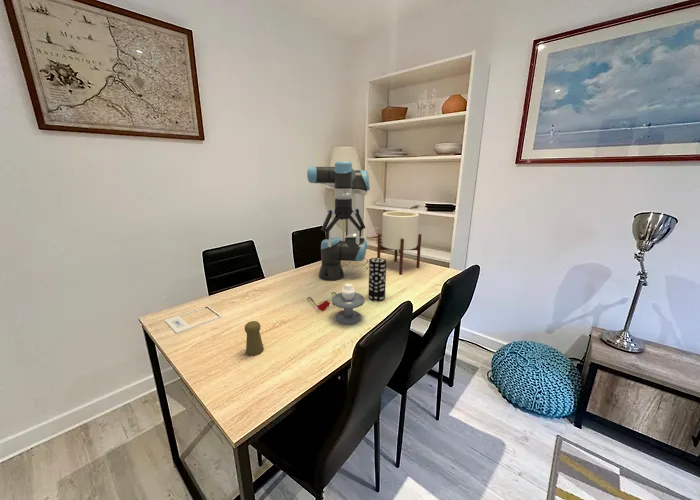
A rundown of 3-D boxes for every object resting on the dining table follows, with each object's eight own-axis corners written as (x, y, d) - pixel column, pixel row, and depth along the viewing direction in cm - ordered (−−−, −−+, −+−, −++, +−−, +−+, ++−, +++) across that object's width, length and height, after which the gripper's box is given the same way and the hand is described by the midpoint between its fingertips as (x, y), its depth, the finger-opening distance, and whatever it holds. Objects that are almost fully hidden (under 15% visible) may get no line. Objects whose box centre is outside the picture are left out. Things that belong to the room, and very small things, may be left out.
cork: (248, 346, 103) (245, 319, 101) (265, 345, 104) (262, 318, 101) (243, 356, 98) (240, 328, 95) (261, 355, 98) (259, 327, 95)
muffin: (342, 295, 124) (341, 280, 122) (356, 296, 124) (356, 281, 122) (340, 301, 118) (340, 286, 116) (354, 302, 118) (354, 286, 116)
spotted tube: (384, 302, 138) (385, 263, 132) (367, 300, 139) (368, 262, 134) (385, 295, 146) (387, 258, 140) (369, 293, 147) (370, 257, 142)
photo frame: (164, 319, 120) (208, 305, 133) (165, 321, 121) (208, 307, 134) (176, 332, 111) (222, 315, 124) (176, 334, 111) (222, 317, 124)
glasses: (318, 313, 128) (317, 303, 127) (306, 299, 142) (306, 289, 141) (345, 307, 134) (345, 297, 133) (332, 294, 148) (332, 285, 147)
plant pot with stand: (374, 267, 188) (375, 213, 179) (395, 260, 203) (397, 210, 193) (401, 276, 172) (404, 217, 163) (422, 267, 187) (426, 213, 177)
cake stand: (328, 313, 128) (328, 294, 125) (357, 308, 132) (357, 290, 130) (337, 328, 115) (337, 308, 112) (369, 322, 119) (369, 303, 117)
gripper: (317, 200, 117) (319, 249, 123) (372, 198, 125) (371, 244, 131) (313, 198, 124) (315, 245, 130) (366, 196, 132) (365, 241, 138)
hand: (343, 245), depth 130 cm, fingers open, 13 cm apart
